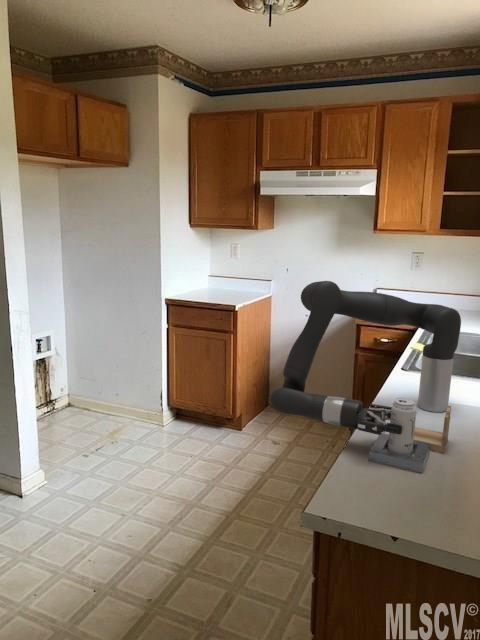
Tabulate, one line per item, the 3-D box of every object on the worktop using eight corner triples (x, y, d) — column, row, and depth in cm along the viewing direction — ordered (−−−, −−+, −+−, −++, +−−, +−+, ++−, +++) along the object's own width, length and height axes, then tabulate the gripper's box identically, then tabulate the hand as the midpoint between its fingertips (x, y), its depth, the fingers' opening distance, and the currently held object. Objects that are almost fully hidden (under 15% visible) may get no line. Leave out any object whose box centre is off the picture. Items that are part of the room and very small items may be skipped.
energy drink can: (409, 463, 131) (414, 407, 128) (385, 458, 134) (389, 402, 130) (413, 454, 136) (418, 399, 133) (390, 449, 139) (394, 395, 136)
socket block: (379, 441, 143) (380, 432, 143) (429, 451, 138) (430, 443, 137) (368, 460, 132) (369, 451, 131) (422, 473, 126) (423, 463, 126)
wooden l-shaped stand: (413, 433, 149) (417, 400, 147) (447, 440, 145) (451, 406, 143) (408, 445, 141) (411, 410, 139) (443, 453, 137) (447, 417, 135)
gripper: (335, 407, 133) (401, 419, 126) (350, 390, 145) (411, 401, 138) (333, 435, 134) (398, 448, 127) (349, 416, 147) (408, 427, 140)
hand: (404, 424), depth 133 cm, fingers open, 8 cm apart
